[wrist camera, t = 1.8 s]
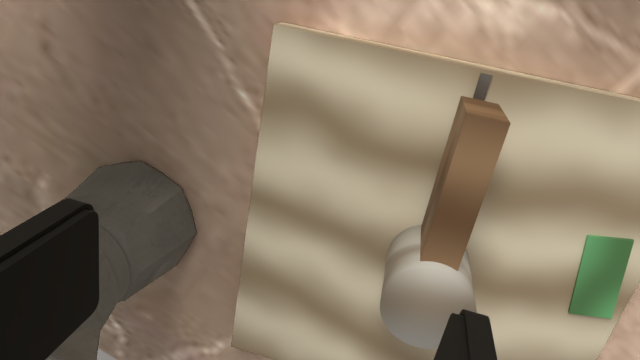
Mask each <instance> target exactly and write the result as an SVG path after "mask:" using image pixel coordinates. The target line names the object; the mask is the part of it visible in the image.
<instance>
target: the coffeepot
mask: <svg viewBox="0 0 640 360" xmlns="http://www.w3.org/2000/svg"><path fill="white" fill-rule="evenodd" d="M66 198H71V199H74V200H78V201H81V202H85V203H88V204H91V205H92V206H93V208H94V211H95V212H97V214H98V217H99V303H98V306H97V308H96V310H95V311H94V313H93V314H92V315H91V316H90V317H89V318H88V319H87V320H86V321H85V322H84V323H83V324H82V325H81V326H80V327H78V328H77V329H76V330H75V331H74V332H73V333H72V334H71V335H70V336H69V337H68V338H67V339H66V340H65V341H64V342H63V343H62V344H61V345H60V346H59V347H58V348H57V349H56V350H55V351H54V352H53V353H52V354H51V355H50V356H49V357H48V358H47V359H46V360H97V351H98V344H99V336H100V330H101V329H102V327H103V326H104V324H105V323H106V321H107V319H108V318H109V316H110V314H111V313H112V311H113V309H114V307H115V305H116V303H117V302H120V301H125V300H126V299H128V298H129V297H131V296H132V295H133V294H135V293H136V292H138V291H139V290H141V289H142V288H144V287H145V286H147V285H148V284H150V283H151V282H153V281H154V280H155V279H157V278H158V277H160V276H161V275H163V274H164V273H166V272H167V271H169V270H170V269H172V268H173V267H174V266H176V265H177V264H178V263H179V261H180V259H181V258H182V256H183V255H184V253H185V252H186V250H187V249H188V247H189V245H190V243H191V241H192V240H193V238H194V236H195V235H196V233H197V232H196V228H195V223H194V219H193V214H192V210H191V207H190V205H189V203H188V200H187V198H186V197H185V195H184V193H183V190H182V188H181V187H179V186H178V185H177V184H176V183H175V182H174V181H172V180H171V179H170V178H169V177H167V176H166V175H165V174H164V173H162V172H160V171H158V170H157V169H155V168H153V167H150V166H148V165H146V164H145V163H143V162H142V161H136V162H128V163H120V164H116V165H111V166H104V167H99V168H98V169H97V170H96V171H95V172H94V173H93V174H91V175H90V176H89V177H88V178H87V179H86V180H85V181H84V182H83V183H82V184H80V185H79V186H78V187H77V188H76V189H75V190H74V191H73V192H72V193H71V194H69V195H68V196H67V197H66ZM66 198H65V199H66ZM0 236H1V235H0Z"/></svg>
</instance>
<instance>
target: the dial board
mask: <svg viewBox="0 0 640 360" xmlns="http://www.w3.org/2000/svg"><path fill="white" fill-rule="evenodd" d="M461 96H465V97H469V98H474V99H478V100H483V101H487V102H492V103H496V104H499V105H500V107H501V108H502V110H503V112H504V113H505V115H506V116H507V118H508V120H509V121H510V123H511V124H510V127H509V130H508V132H507V135H506V138H505V141H504V144H503V146H502V149H501V152H500V155H499V157H498V160H497V163H496V166H495V169H494V171H493V174H492V177H491V180H490V183H489V185H488V188H487V191H486V194H485V197H484V199H483V202H482V205H481V208H480V211H479V213H478V216H477V219H476V222H475V225H474V227H473V230H472V233H471V236H470V239H469V241H468V244H467V247H466V249H467V252H468V257H469V263H470V270H471V276H472V283H473V289H474V296H475V302H476V309H477V313H479V314H483V315H486V316H488V317H489V319H490V323H491V329H492V334H493V339H494V344H495V350H496V355H497V360H596V359H597V358H598V356H599V354H600V352H601V350H602V349H603V347H604V345H605V343H606V341H607V340H608V338H609V336H610V334H611V332H612V331H613V329H614V327H615V325H616V323H617V321H618V320H619V318H620V316H621V314H622V312H623V311H624V309H625V307H626V305H627V303H628V302H629V300H630V298H631V296H632V294H633V293H634V291H635V289H636V287H637V285H638V283H639V282H640V98H637V97H632V96H628V95H623V94H618V93H613V92H609V91H604V90H599V89H595V88H590V87H585V86H581V85H576V84H571V83H566V82H562V81H557V80H552V79H548V78H543V77H538V76H533V75H529V74H524V73H519V72H515V71H510V70H505V69H501V68H496V67H491V66H486V65H482V64H477V63H472V62H468V61H463V60H458V59H453V58H449V57H444V56H439V55H435V54H430V53H425V52H421V51H416V50H411V49H406V48H402V47H397V46H392V45H388V44H383V43H378V42H374V41H369V40H364V39H359V38H355V37H350V36H345V35H341V34H336V33H331V32H326V31H322V30H317V29H312V28H308V27H303V26H298V25H294V24H289V23H284V22H283V23H278V24H274V25H273V33H272V40H271V48H270V56H269V63H268V71H267V78H266V86H265V93H264V101H263V108H262V116H261V123H260V131H259V139H258V146H257V154H256V161H255V169H254V176H253V184H252V191H251V199H250V206H249V214H248V221H247V229H246V237H245V244H244V252H243V259H242V267H241V274H240V282H239V289H238V297H237V304H236V312H235V320H234V327H233V335H232V342H231V347H234V348H238V349H241V350H244V351H247V352H251V353H254V354H257V355H261V356H264V357H267V358H270V359H274V360H433V359H434V357H435V354H436V351H437V349H423V348H418V347H414V346H411V345H409V344H406V343H404V342H403V341H401V340H399V339H398V338H397V337H395V336H394V335H393V334H392V333H391V332H390V331H389V330H388V329H387V327H386V326H385V324H384V322H383V320H382V317H381V314H380V300H381V293H382V287H383V280H384V274H385V267H386V260H387V254H388V249H389V247H390V244H391V243H392V241H393V240H394V238H395V237H396V236H397V235H398V234H399V233H401V232H402V231H404V230H405V229H407V228H410V227H413V226H416V225H422V222H423V219H424V216H425V212H426V209H427V206H428V203H429V199H430V196H431V193H432V189H433V186H434V183H435V180H436V176H437V173H438V170H439V167H440V163H441V160H442V157H443V153H444V150H445V147H446V144H447V140H448V137H449V134H450V131H451V127H452V124H453V121H454V117H455V114H456V111H457V108H458V104H459V101H460V98H461Z"/></svg>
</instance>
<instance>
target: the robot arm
mask: <svg viewBox="0 0 640 360" xmlns="http://www.w3.org/2000/svg"><path fill="white" fill-rule="evenodd" d="M98 303H99V217H98V214H97V212H95V211H94V208H93V206H92V205H91V204H88V203H85V202H81V201H78V200H74V199H71V198H66V199H63V200H62V201H60V202H58V203H56V204H55V205H53V206H51V207H49V208H48V209H46V210H44V211H43V212H41V213H39V214H37V215H36V216H34V217H32V218H30V219H29V220H27V221H25V222H24V223H22V224H20V225H18V226H17V227H15V228H13V229H11V230H10V231H8V232H6V233H4V234H3V235H1V236H0V360H46V359H47V358H48V357H49V356H50V355H51V354H52V353H53V352H54V351H55V350H56V349H57V348H58V347H59V346H60V345H61V344H62V343H63V342H64V341H65V340H66V339H67V338H68V337H69V336H70V335H71V334H72V333H73V332H74V331H75V330H76V329H77V328H78V327H80V326H81V325H82V324H83V323H84V322H85V321H86V320H87V319H88V318H89V317H90V316H91V315H92V314H93V313H94V311H95V310H96V308H97V306H98ZM433 360H497V355H496V350H495V344H494V339H493V334H492V329H491V323H490V319H489V317H488V316H486V315H483V314H479V313H476V312H472V311H468V310H465V309H463V310H461V312H460V314H455V313H452V314H451V315H450V317H449V320H448V322H447V325H446V328H445V330H444V333H443V336H442V338H441V341H440V344H439V346H438V349H437V351H436V354H435V357H434V359H433Z"/></svg>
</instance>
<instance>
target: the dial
mask: <svg viewBox="0 0 640 360" xmlns="http://www.w3.org/2000/svg"><path fill="white" fill-rule="evenodd" d="M510 124H511V123H510V121H509V120H508V118H507V116H506V115H505V113H504V112H503V110H502V108H501V107H500V105H499V104H496V103H492V102H487V101H483V100H478V99H474V98H469V97H465V96H461V98H460V101H459V104H458V108H457V111H456V114H455V117H454V121H453V124H452V127H451V131H450V134H449V137H448V140H447V144H446V147H445V150H444V153H443V157H442V160H441V163H440V167H439V170H438V173H437V176H436V180H435V183H434V186H433V189H432V193H431V196H430V199H429V203H428V206H427V209H426V212H425V216H424V219H423V222H422V225H416V226H413V227H410V228H407V229H405V230H404V231H402V232H401V233H399V234H398V235H397V236H396V237H395V238H394V240H393V241H392V243H391V244H390V247H389V249H388V254H387V260H386V267H385V274H384V280H383V287H382V293H381V300H380V314H381V317H382V320H383V322H384V324H385V326H386V327H387V329H388V330H389V331H390V332H391V333H392V334H393V335H394V336H395V337H397V338H398V339H399V340H401V341H403V342H404V343H406V344H409V345H411V346H414V347H418V348H423V349H438V346H439V344H440V341H441V338H442V336H443V333H444V330H445V328H446V325H447V322H448V320H449V317H450V315H451V314H452V313H455V314H460V312H461V310H463V309H465V310H468V311H472V312H476V313H477V309H476V302H475V296H474V289H473V283H472V276H471V270H470V263H469V257H468V252H467V249H466V247H467V244H468V241H469V239H470V236H471V233H472V230H473V227H474V225H475V222H476V219H477V216H478V213H479V211H480V208H481V205H482V202H483V199H484V197H485V194H486V191H487V188H488V185H489V183H490V180H491V177H492V174H493V171H494V169H495V166H496V163H497V160H498V157H499V155H500V152H501V149H502V146H503V144H504V141H505V138H506V135H507V132H508V130H509V127H510Z"/></svg>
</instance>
